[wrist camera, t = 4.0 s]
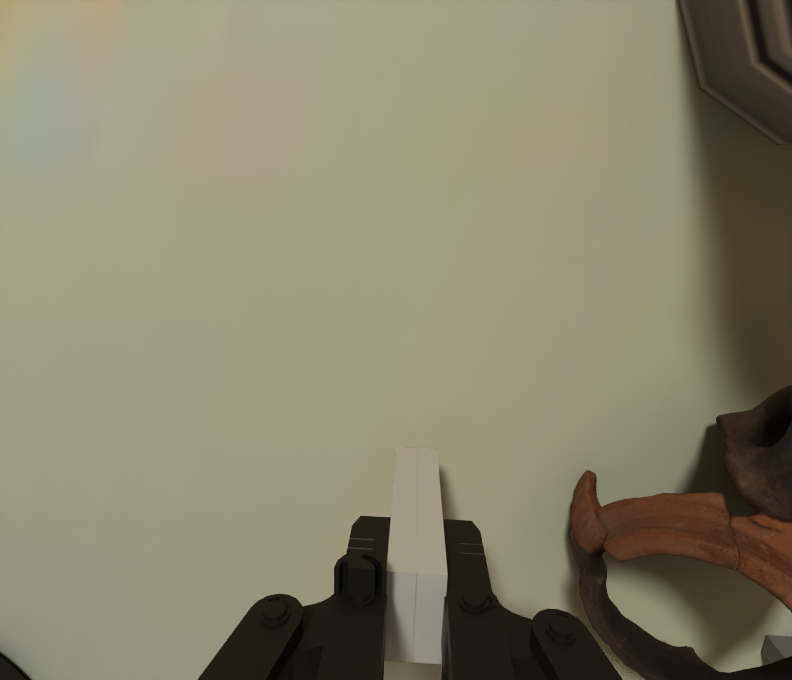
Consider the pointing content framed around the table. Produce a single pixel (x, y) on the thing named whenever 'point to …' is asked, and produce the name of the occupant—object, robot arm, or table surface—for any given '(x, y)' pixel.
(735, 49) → the can
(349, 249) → the table surface
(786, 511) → the brown ring with knob
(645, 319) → the table surface
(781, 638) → the box
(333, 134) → the table surface
